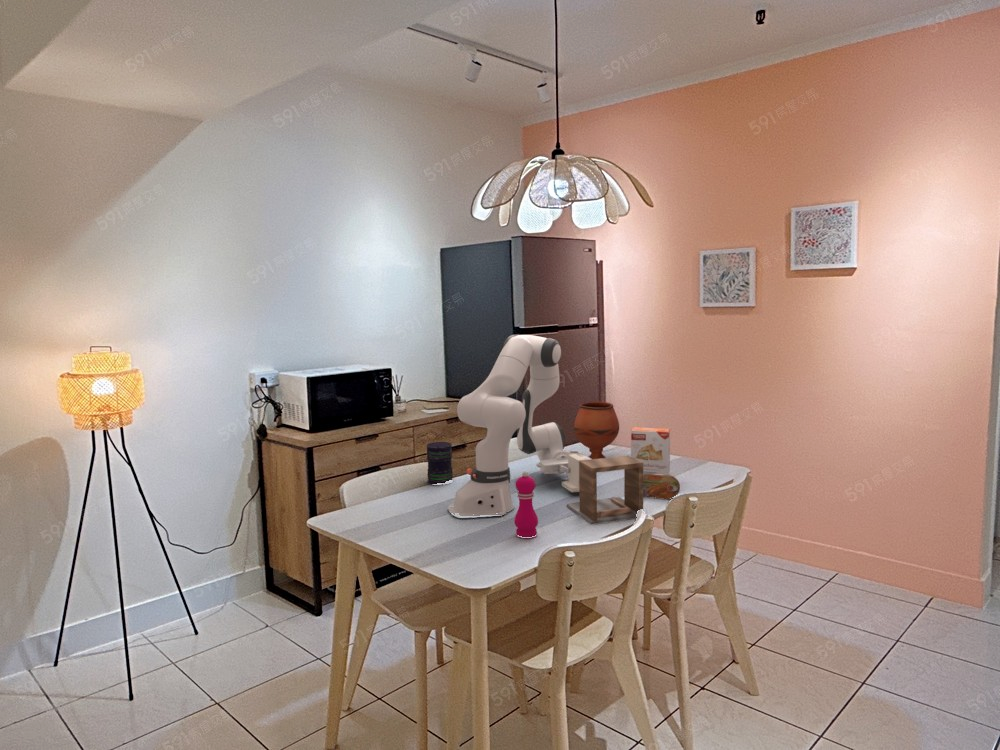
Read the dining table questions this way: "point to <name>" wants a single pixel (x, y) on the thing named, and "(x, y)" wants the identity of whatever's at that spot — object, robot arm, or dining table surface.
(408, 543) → the dining table surface
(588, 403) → the goblet
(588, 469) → the frame
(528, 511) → the pepper mill
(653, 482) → the tin
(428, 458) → the storage jar
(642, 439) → the cracker box
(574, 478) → the tall narrow cream block
